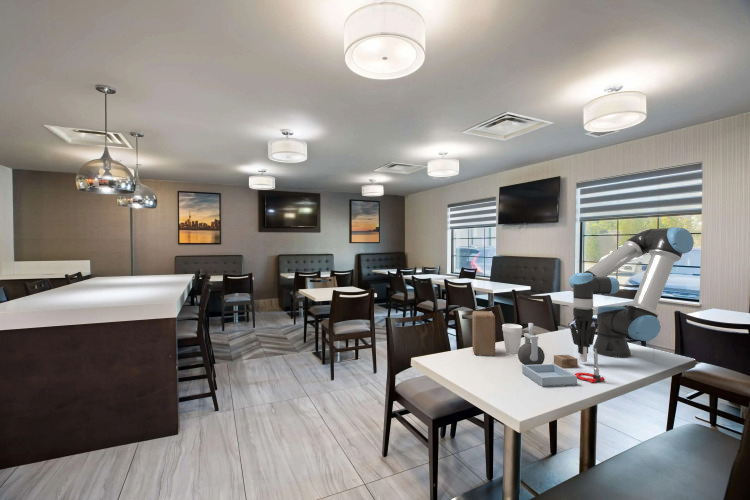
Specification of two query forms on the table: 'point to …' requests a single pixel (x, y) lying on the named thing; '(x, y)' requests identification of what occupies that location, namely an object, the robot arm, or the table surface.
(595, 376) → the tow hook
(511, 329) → the foam cup
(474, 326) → the wooden block
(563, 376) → the tray
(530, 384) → the table surface
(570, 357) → the block
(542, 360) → the trolley wheel
